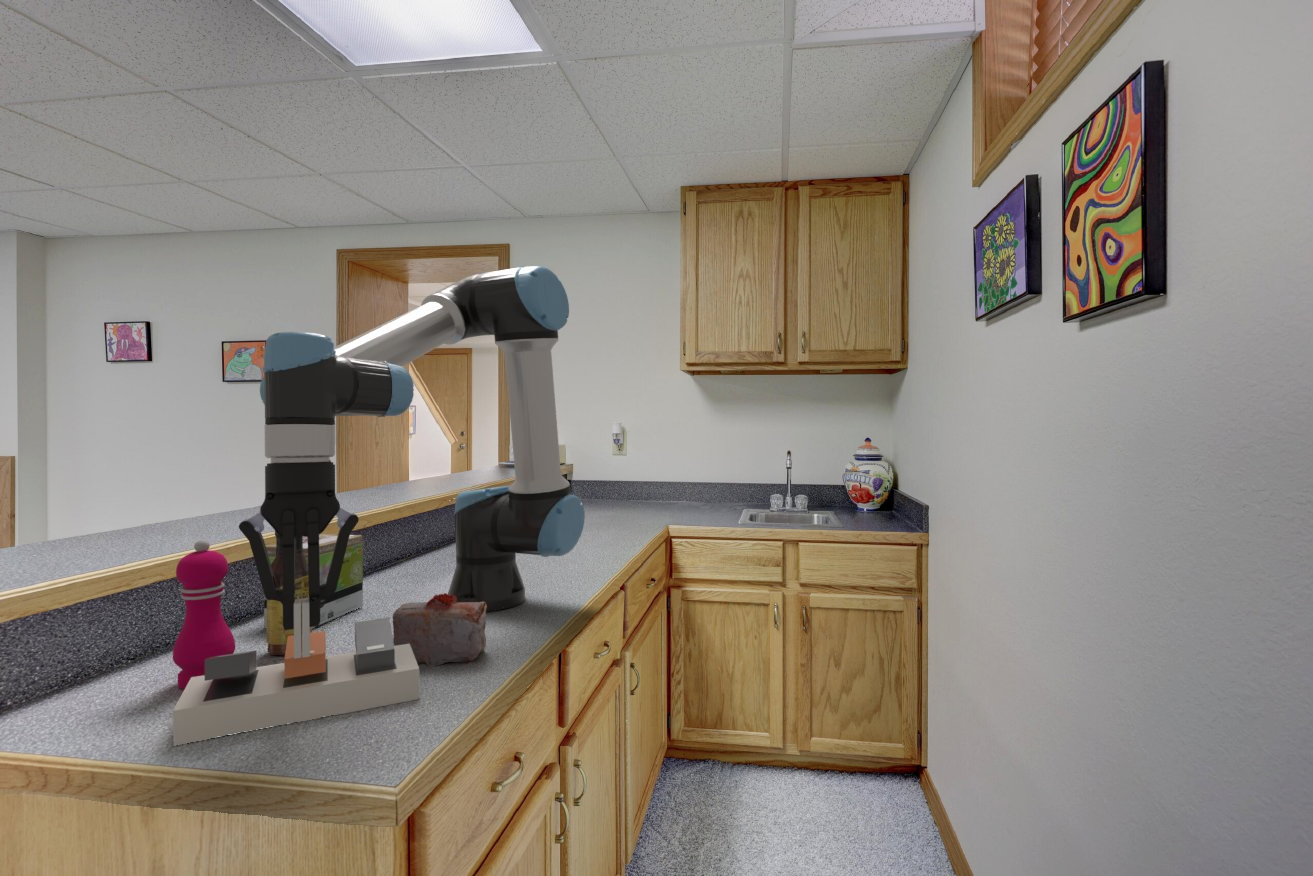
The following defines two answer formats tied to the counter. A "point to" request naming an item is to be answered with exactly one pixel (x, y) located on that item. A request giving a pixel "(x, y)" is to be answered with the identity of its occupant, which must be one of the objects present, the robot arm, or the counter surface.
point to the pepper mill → (201, 612)
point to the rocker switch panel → (290, 696)
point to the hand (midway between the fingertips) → (302, 654)
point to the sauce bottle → (275, 608)
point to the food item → (441, 629)
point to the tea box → (349, 579)
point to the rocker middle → (306, 664)
